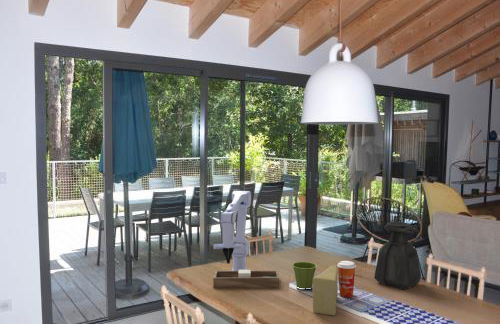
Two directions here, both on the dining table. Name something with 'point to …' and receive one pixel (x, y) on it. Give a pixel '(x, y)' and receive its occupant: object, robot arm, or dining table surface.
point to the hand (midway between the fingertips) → (228, 263)
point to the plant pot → (304, 274)
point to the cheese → (325, 291)
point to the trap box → (246, 279)
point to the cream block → (244, 274)
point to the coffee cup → (346, 278)
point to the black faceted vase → (398, 259)
